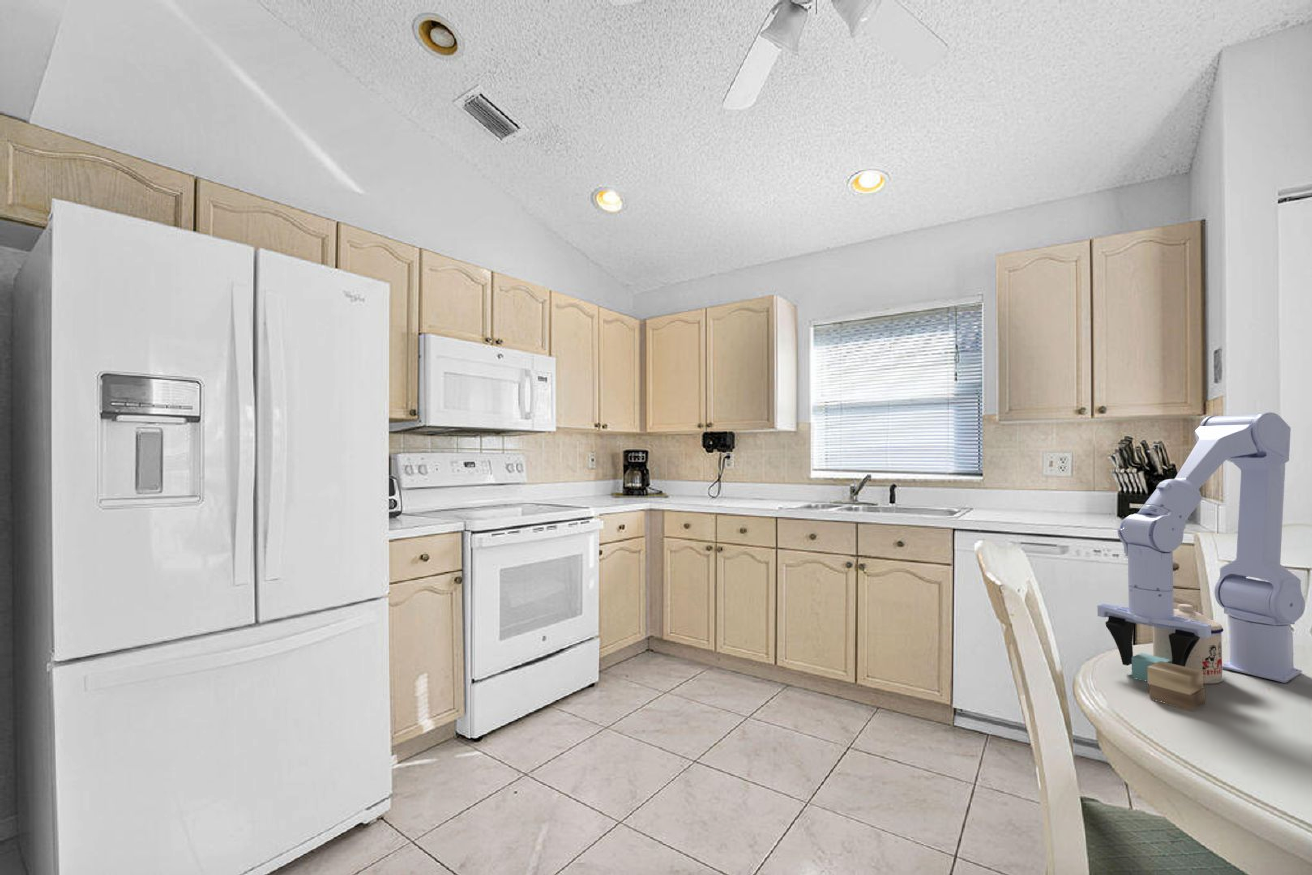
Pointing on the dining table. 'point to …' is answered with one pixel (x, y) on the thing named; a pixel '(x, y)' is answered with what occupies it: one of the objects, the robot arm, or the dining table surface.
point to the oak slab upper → (1175, 677)
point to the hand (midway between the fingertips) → (1151, 670)
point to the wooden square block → (1178, 697)
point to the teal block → (1144, 664)
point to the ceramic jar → (1203, 653)
